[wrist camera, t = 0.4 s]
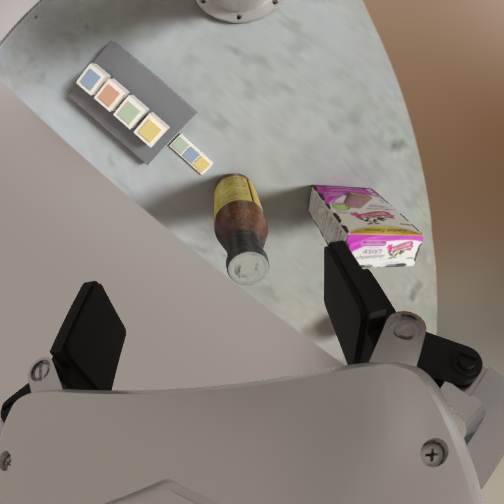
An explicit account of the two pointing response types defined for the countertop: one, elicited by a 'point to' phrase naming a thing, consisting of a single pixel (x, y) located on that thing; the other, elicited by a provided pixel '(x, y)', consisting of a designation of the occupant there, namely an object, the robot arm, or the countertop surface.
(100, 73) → the key blue
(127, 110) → the key sage
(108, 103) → the key terracotta
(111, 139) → the countertop surface
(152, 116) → the key mustard
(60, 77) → the countertop surface
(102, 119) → the keypad board
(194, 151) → the strip
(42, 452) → the robot arm
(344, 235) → the candy bar box
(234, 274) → the sauce bottle
